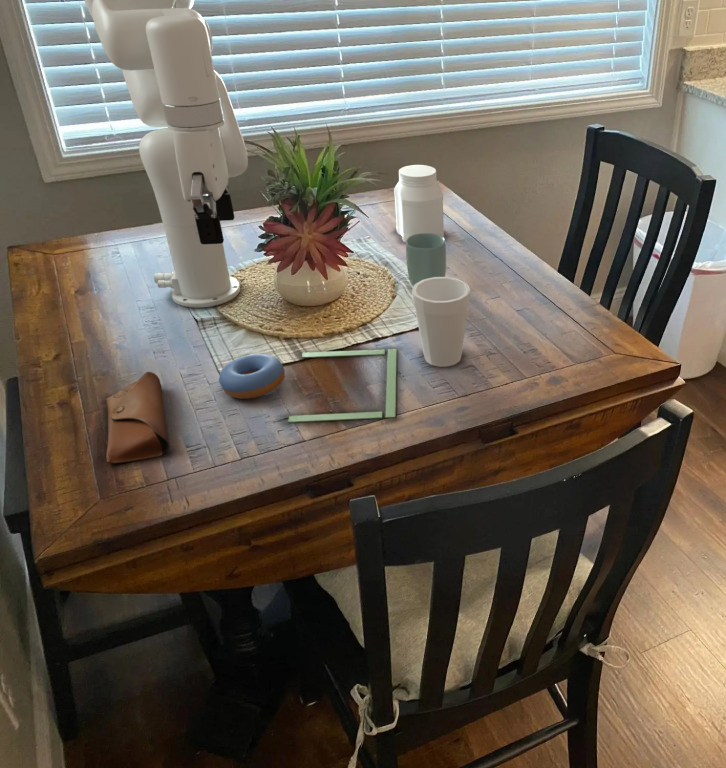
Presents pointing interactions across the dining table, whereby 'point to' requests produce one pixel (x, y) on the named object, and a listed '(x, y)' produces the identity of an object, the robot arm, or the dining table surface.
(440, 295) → the foam cup
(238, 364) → the doughnut
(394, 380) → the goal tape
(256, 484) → the dining table surface
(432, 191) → the jar
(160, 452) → the sunglasses case
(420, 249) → the cup
